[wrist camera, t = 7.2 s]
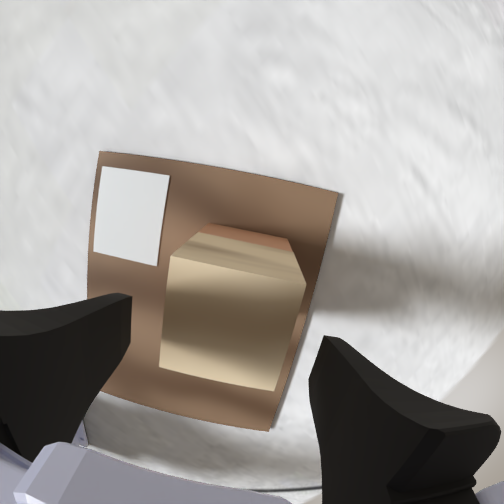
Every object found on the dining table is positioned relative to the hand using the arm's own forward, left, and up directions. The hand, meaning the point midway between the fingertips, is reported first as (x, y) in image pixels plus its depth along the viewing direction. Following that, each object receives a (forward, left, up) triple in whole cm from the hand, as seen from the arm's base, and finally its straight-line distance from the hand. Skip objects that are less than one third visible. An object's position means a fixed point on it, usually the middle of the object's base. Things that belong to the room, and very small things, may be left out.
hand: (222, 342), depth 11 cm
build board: (-4, +3, -10) cm, 11 cm away
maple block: (0, 0, -6) cm, 6 cm away
